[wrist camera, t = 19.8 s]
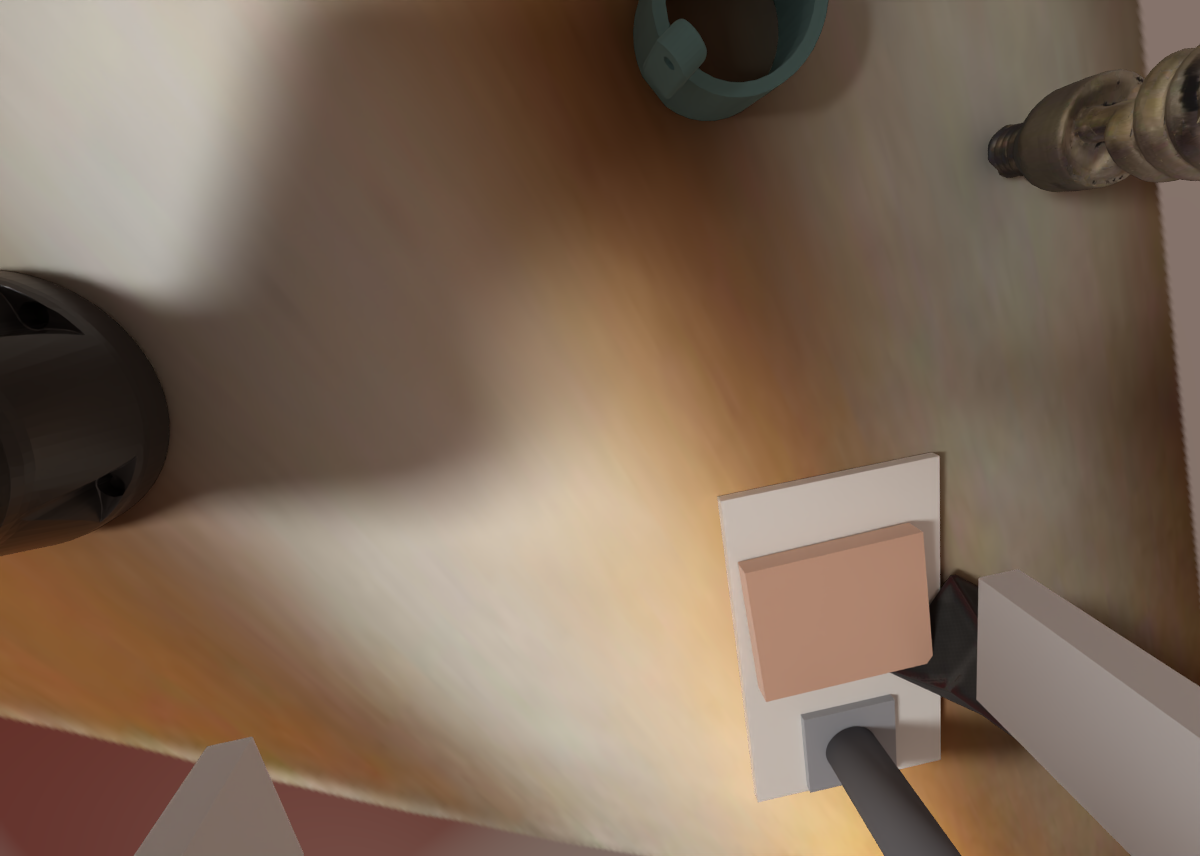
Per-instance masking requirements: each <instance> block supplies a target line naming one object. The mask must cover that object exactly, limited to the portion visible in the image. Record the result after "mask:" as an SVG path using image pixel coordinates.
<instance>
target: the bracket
mask: <svg viewBox="0 0 1200 856" xmlns="http://www.w3.org/2000/svg"><path fill="white" fill-rule="evenodd" d="M773 1H774V4H775V7H776V12H777V18H778V44H777V51H776V55H775V58H774V61H773V65H772V67H771V69H770V71H769V73H768V75H767V76H764V77H762V78H760V79H757V80H753V81H747V82H728V81H724V80H720V79H717V78H714V77H712V76H710V75H708V74H706V73H705V72H703V71H701V70H700V69H699V67H700V65H701V64H702V63H703V62H704V60H705V58H706V55H707V49H706V46H705V44H704V42H703V40H702V38H701V36H700V35H699V33H698V32H697V30H696V29H695V28H694V27H693V26H692V25H691V24H690V23H689V22H688V21H686V20H685V19H679V20H677V21H675V22H674V23H673V24H672V25H671V26H670V24H669V21H668V15H667V9H666V0H639V2H638V5H637V9H636V13H635V19H634V28H633V37H634V50H635V55H636V59H637V63H638V66H639V69H640V71H641V74H642V77H643V78H644V79H645V81H646V82H647V83H648V84H649V86H650V87H651V88H652V89H653V91H654V92H655V93H656V95H657V96H658V97H659V98H660V100H661V101H662V102H663V104H664V105H665V106H666V107H668V108H669V109H671V110H672V111H674V112H675V113H677V114H679V115H682V116H684V117H687V118H689V119H695V120H700V121H716V120H720V119H725V118H728V117H731V116H733V115H735V114H738V113H740V112H741V111H743V110H744V109H746V108H747V107H749V106H750V105H752V104H753V103H755V102H756V101H757V100H759V99H760V98H762V97H763V96H765V95H766V94H768V93H769V92H770V91H772V90H773V89H775V88H776V87H778V86H779V85H781V84H782V83H783V82H785V81H786V80H787V79H788V78H789V77H791V76H792V75H793V74H794V73H795V72H796V71H797V70H798V69H799V68H800V67H801V66H802V64H803V63H804V62H805V61H806V59H807V58H808V56H809V55H810V53H811V52H812V50H813V49H814V47H815V44H816V42H817V40H818V38H819V36H820V34H821V31H822V28H823V24H824V21H825V18H826V13H827V6H828V0H773Z"/></svg>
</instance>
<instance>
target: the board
mask: <svg viewBox="0 0 1200 856" xmlns="http://www.w3.org/2000/svg"><path fill="white" fill-rule="evenodd" d="M717 499H718V507H719V515H720V523H721V531H722V539H723V547H724V555H725V563H726V571H727V578H728V586H729V594H730V602H731V610H732V618H733V626H734V634H735V642H736V650H737V658H738V666H739V674H740V682H741V690H742V698H743V706H744V714H745V722H746V730H747V738H748V746H749V754H750V761H751V769H752V777H753V785H754V793H755V796H756V798H757V801H758V802H762V801H766V800H770V799H774V798H779V797H783V796H787V795H792V794H796V793H800V792H804V791H810V793H811V792H815V791H819V790H824V789H828V788H832V787H836V786H841V785H842V784H841V782H840V780H839V779H838V777H837V775H836V774H835V772H834V770H833V769H832V767H831V765H830V764H829V762H828V760H827V758H826V748H827V745H828V743H829V742H830V740H831V739H832V738H833V737H834V736H835V735H836V734H837V733H839V732H840V731H842V730H844V729H846V728H850V727H864V728H867V729H869V730H870V731H871V732H872V733H873V734H874V736H875V737H876V738H877V740H878V741H879V742H880V744H881V745H882V747H883V748H884V749H885V751H886V752H887V754H888V755H889V756H890V758H891V759H892V760H893V762H894V763H895V765H896V766H897V767H898V769H903V768H907V767H911V766H915V765H920V764H924V763H928V762H932V761H937V760H941V704H940V695H937V694H935V693H933V692H931V691H929V690H926V689H924V688H922V687H920V686H918V685H916V684H913V683H911V682H909V681H907V680H905V679H902V678H900V677H898V676H896V675H894V674H892V673H886V674H882V675H877V676H873V677H869V678H865V679H861V680H856V681H852V682H848V683H844V684H840V685H836V686H831V687H827V688H823V689H819V690H815V691H810V692H806V693H802V694H798V695H794V696H790V697H785V698H781V699H777V700H773V701H769V702H766V701H765V699H764V697H763V695H762V693H761V691H760V689H759V687H758V683H757V677H756V671H755V665H754V659H753V653H752V647H751V641H750V634H749V628H748V622H747V616H746V610H745V604H744V598H743V592H742V586H741V580H740V574H739V568H738V562H741V561H745V560H749V559H754V558H758V557H762V556H767V555H771V554H775V553H779V552H784V551H788V550H792V549H797V548H801V547H805V546H810V545H814V544H818V543H823V542H827V541H831V540H836V539H840V538H844V537H848V536H853V535H857V534H861V533H866V532H870V531H874V530H879V529H883V528H887V527H892V526H896V525H900V524H904V523H910V524H912V525H913V526H915V527H916V528H918V529H919V530H921V531H922V532H923V536H924V549H925V562H926V575H927V587H928V600H929V605H930V603H931V602H932V600H933V599H934V598H935V596H936V595H937V594H938V592H939V591H940V456H938V455H936V454H934V453H932V452H931V453H926V454H921V455H916V456H911V457H906V458H902V459H897V460H892V461H887V462H882V463H877V464H873V465H868V466H863V467H858V468H853V469H848V470H844V471H839V472H834V473H829V474H824V475H819V476H815V477H810V478H805V479H800V480H795V481H790V482H785V483H781V484H776V485H771V486H766V487H761V488H756V489H752V490H747V491H742V492H737V493H732V494H727V495H723V496H718V497H717Z"/></svg>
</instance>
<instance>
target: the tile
mask: <svg viewBox="0 0 1200 856" xmlns="http://www.w3.org/2000/svg"><path fill="white" fill-rule="evenodd" d="M738 568H739V574H740V580H741V586H742V592H743V598H744V604H745V610H746V616H747V622H748V628H749V634H750V641H751V647H752V653H753V659H754V665H755V671H756V677H757V683H758V687H759V689H760V691H761V693H762V695H763V697H764V699H765V701H766V702H769V701H773V700H777V699H781V698H785V697H790V696H794V695H798V694H802V693H806V692H810V691H815V690H819V689H823V688H827V687H831V686H836V685H840V684H844V683H848V682H852V681H856V680H861V679H865V678H869V677H873V676H877V675H882V674H886V673H890V672H894V671H898V670H903V669H907V668H911V667H915V666H919V665H923V664H927V663H928V661H929V660H930V659H931V657H932V656H933V652H932V639H931V626H930V613H929V600H928V587H927V575H926V562H925V549H924V536H923V532H922V531H921V530H919V529H918V528H916V527H915V526H913V525H912V524H910V523H904V524H900V525H896V526H892V527H887V528H883V529H879V530H874V531H870V532H866V533H861V534H857V535H853V536H848V537H844V538H840V539H836V540H831V541H827V542H823V543H818V544H814V545H810V546H805V547H801V548H797V549H792V550H788V551H784V552H779V553H775V554H771V555H767V556H762V557H758V558H754V559H749V560H745V561H741V562H738Z"/></svg>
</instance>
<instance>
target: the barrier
mask: <svg viewBox="0 0 1200 856" xmlns="http://www.w3.org/2000/svg"><path fill="white" fill-rule="evenodd" d="M929 613H930V626H931V639H932V652H933V656H932V657H931V659H930V660H929V661H928V663H927V664H923V665H919V666H915V667H911V668H907V669H903V670H898V671H894V672H890V673H892V674H894V675H896V676H898V677H900V678H902V679H905V680H907V681H909V682H911V683H913V684H916V685H918V686H920V687H922V688H924V689H926V690H929V691H931V692H933V693H935V694H937V695H940V696H942V697H944V698H946V699H948V700H950V701H953V702H955V703H957V704H959V705H961V706H963V707H966V708H968V709H970V710H972V711H974V712H977V713H979V714H981V715H983V716H984V717H985V718H987V719H988V720H990V721H991V722H992V723H994V724H995V725H997V726H998V727H1000V728H1001V729H1002V730H1004V731H1005V732H1007V733H1008V734H1009V735H1011V734H1010V733H1009V732H1008V731H1007V730H1006V729H1005V728H1004V727H1003V726H1002V725H1001V724H1000V723H999V722H998V721H997V720H996V719H995V718H994V717H993V716H992V715H991V714H990V713H989V712H988V711H987V710H986V709H985V708H984V707H983V706H982V705H981V704H980V703H979V702H978V701H977V700H976V695H977V640H978V586H976V585H974V584H972V583H970V582H968V581H967V580H965V579H963V578H961V577H959V576H957V575H951V576H950V577H949V578H948V580H947V581H946V582H945V584H944V585H943V587H942V588H941V589H940V591H939V592H938V594H937V595H936V596H935V598H934V599H933V600H932V602H931V603H930V605H929ZM1011 736H1012V735H1011ZM1012 737H1013V736H1012Z"/></svg>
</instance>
